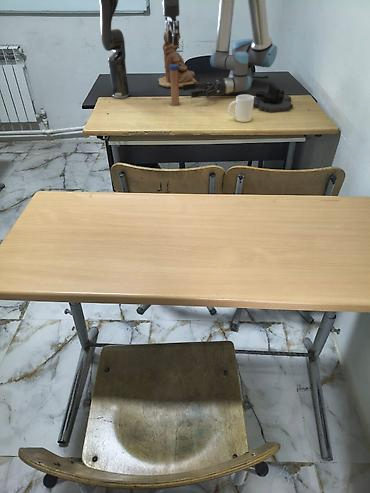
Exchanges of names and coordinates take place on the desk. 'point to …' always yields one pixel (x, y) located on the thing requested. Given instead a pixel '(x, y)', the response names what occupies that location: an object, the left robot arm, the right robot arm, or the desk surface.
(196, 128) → the desk surface
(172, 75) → the brown cylindrical tube
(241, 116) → the mug
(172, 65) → the lid
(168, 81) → the sculpture
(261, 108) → the abstract sculpture
